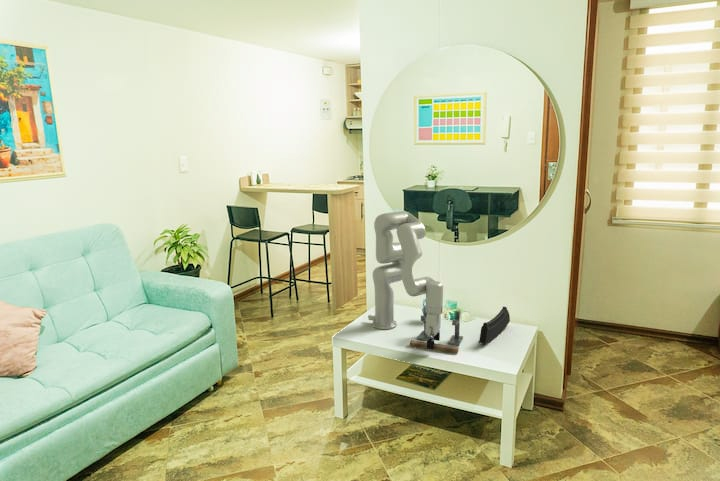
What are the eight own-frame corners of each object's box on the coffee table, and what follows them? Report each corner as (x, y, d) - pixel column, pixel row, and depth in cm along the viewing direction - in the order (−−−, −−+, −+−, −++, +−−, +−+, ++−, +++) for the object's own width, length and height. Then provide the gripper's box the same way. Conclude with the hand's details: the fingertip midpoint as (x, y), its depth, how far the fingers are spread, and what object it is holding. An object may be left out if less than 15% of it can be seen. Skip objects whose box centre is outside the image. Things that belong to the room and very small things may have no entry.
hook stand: (417, 339, 232) (417, 311, 229) (422, 332, 240) (422, 305, 237) (459, 345, 224) (459, 317, 221) (463, 338, 232) (463, 310, 229)
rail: (409, 347, 225) (409, 342, 224) (411, 344, 227) (411, 339, 227) (457, 354, 216) (457, 349, 216) (458, 351, 219) (458, 346, 218)
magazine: (484, 330, 219) (508, 294, 240) (477, 328, 221) (501, 293, 241) (487, 359, 226) (510, 323, 247) (480, 358, 228) (504, 321, 249)
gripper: (430, 301, 227) (430, 335, 230) (420, 314, 211) (419, 350, 215) (446, 303, 224) (445, 338, 227) (437, 316, 208) (436, 353, 212)
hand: (433, 344), depth 221 cm, fingers open, 9 cm apart
